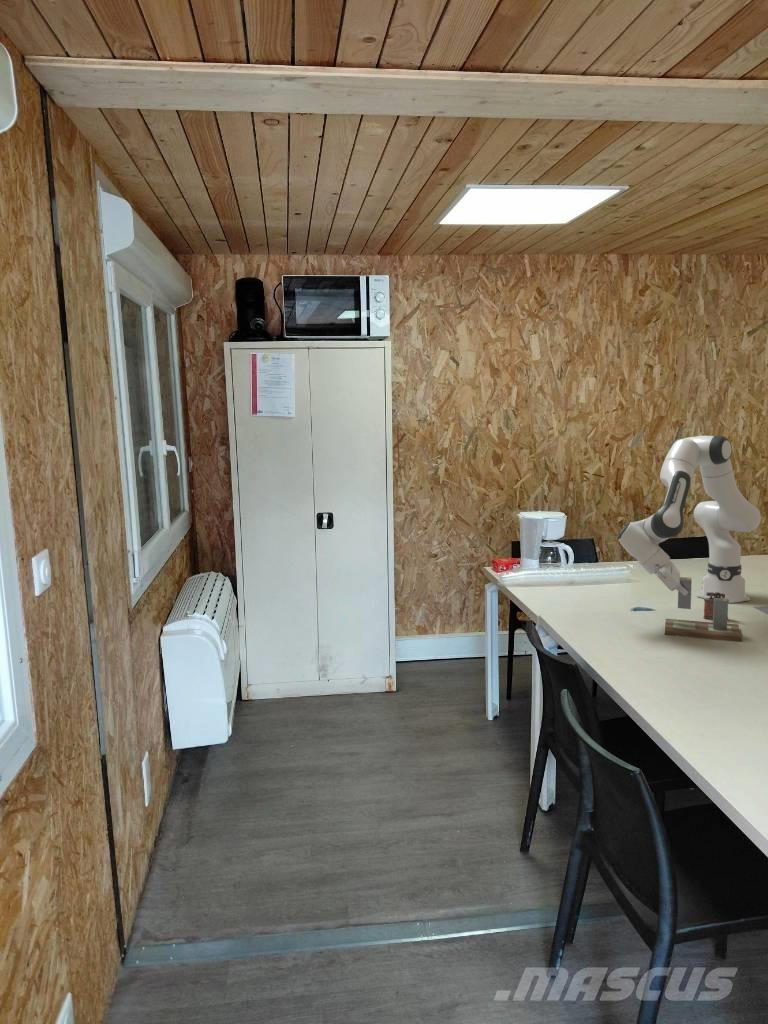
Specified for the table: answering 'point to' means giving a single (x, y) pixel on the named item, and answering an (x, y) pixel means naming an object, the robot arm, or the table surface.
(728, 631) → the pallet
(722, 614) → the block
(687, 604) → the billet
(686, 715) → the table surface
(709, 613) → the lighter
